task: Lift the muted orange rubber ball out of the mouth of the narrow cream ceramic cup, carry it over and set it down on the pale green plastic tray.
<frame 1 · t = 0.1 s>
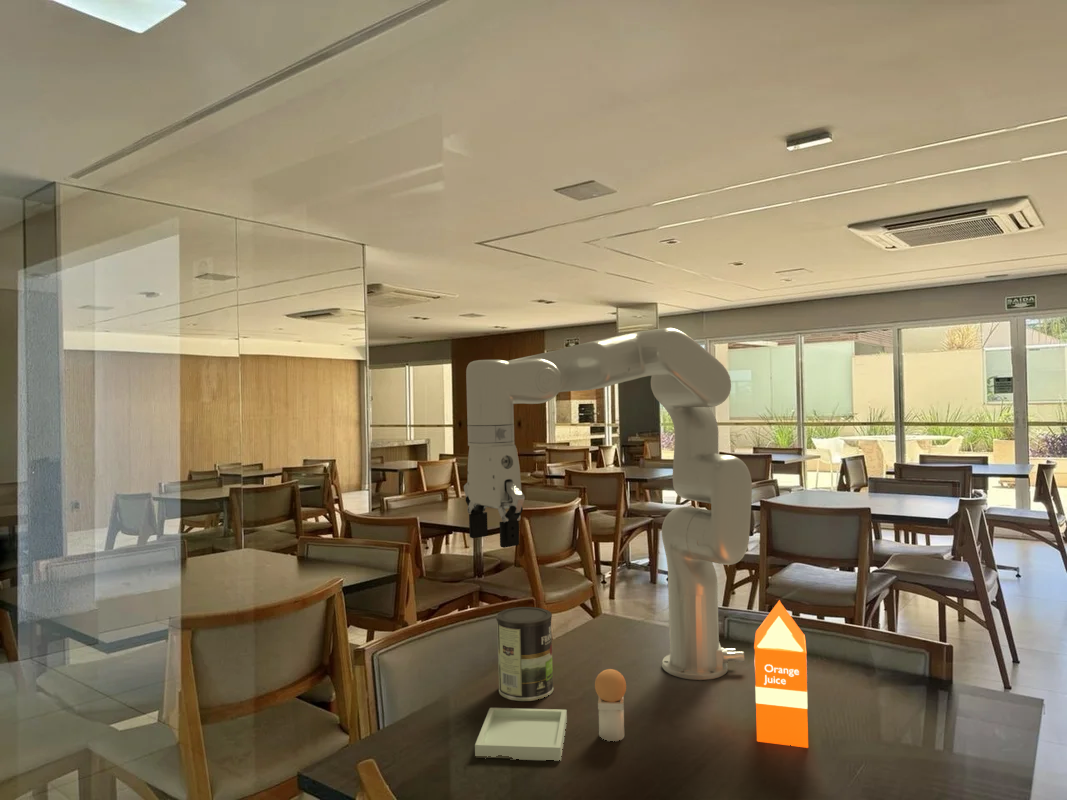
hand: (493, 541, 118), 31 cm above the table, tool pointing down, fingers open, 9 cm apart
ball: (610, 685, 116), point 8 cm above the table, touching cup
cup: (611, 735, 116), on the table
tray: (523, 738, 115), on the table
orange juice: (782, 733, 116), on the table
coffee can: (525, 691, 135), on the table
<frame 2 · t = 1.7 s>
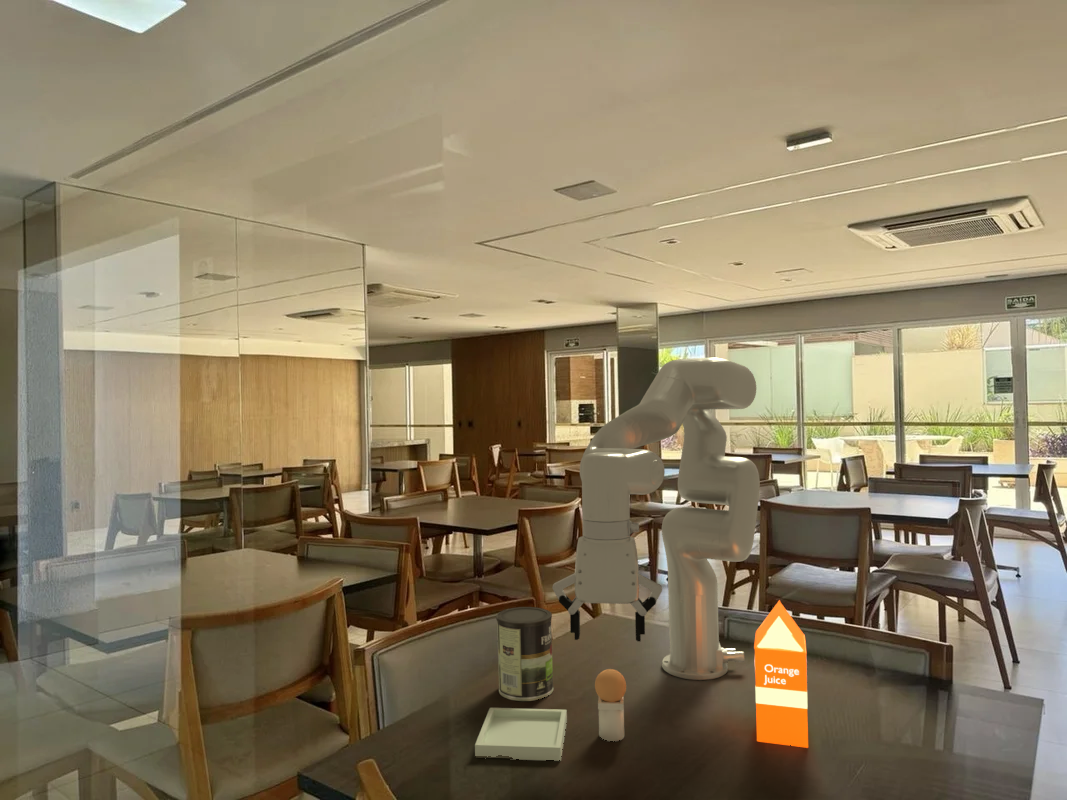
hand: (607, 638, 115), 16 cm above the table, tool pointing down, fingers open, 9 cm apart
nothing on the table moved.
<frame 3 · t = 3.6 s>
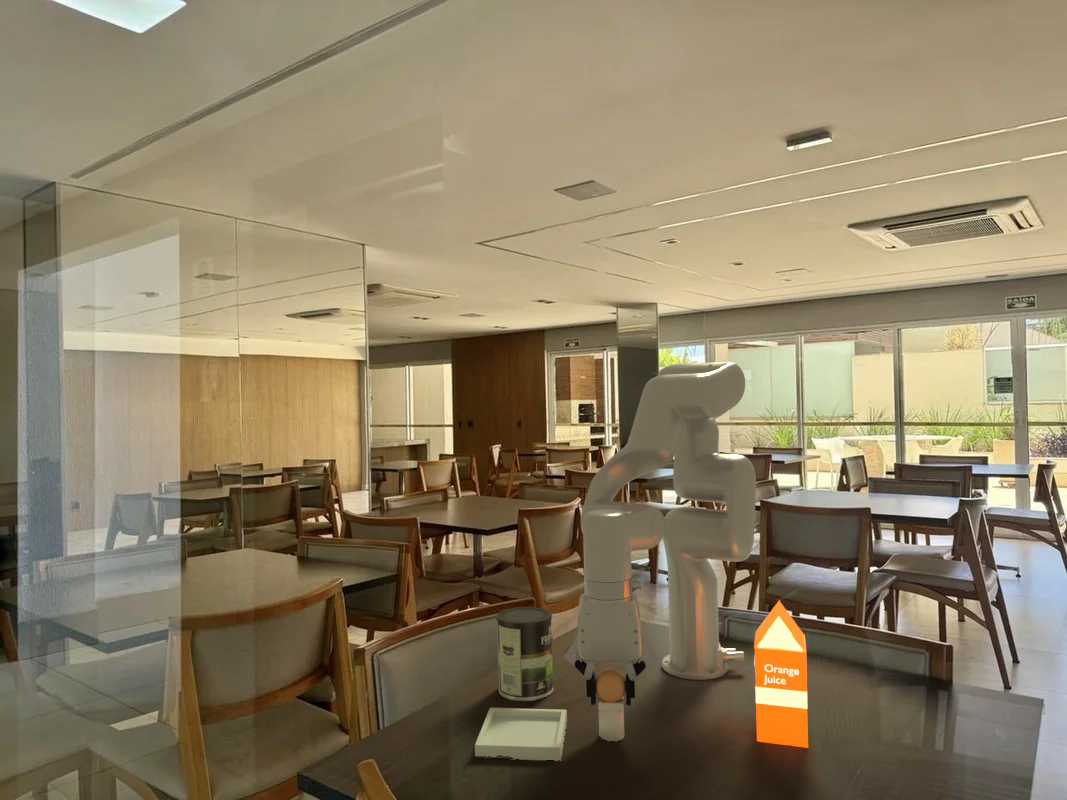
hand: (610, 700, 116), 6 cm above the table, tool pointing down, fingers closed on ball, 4 cm apart
ball: (610, 685, 116), point 8 cm above the table, touching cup, gripper
everything else where it was.
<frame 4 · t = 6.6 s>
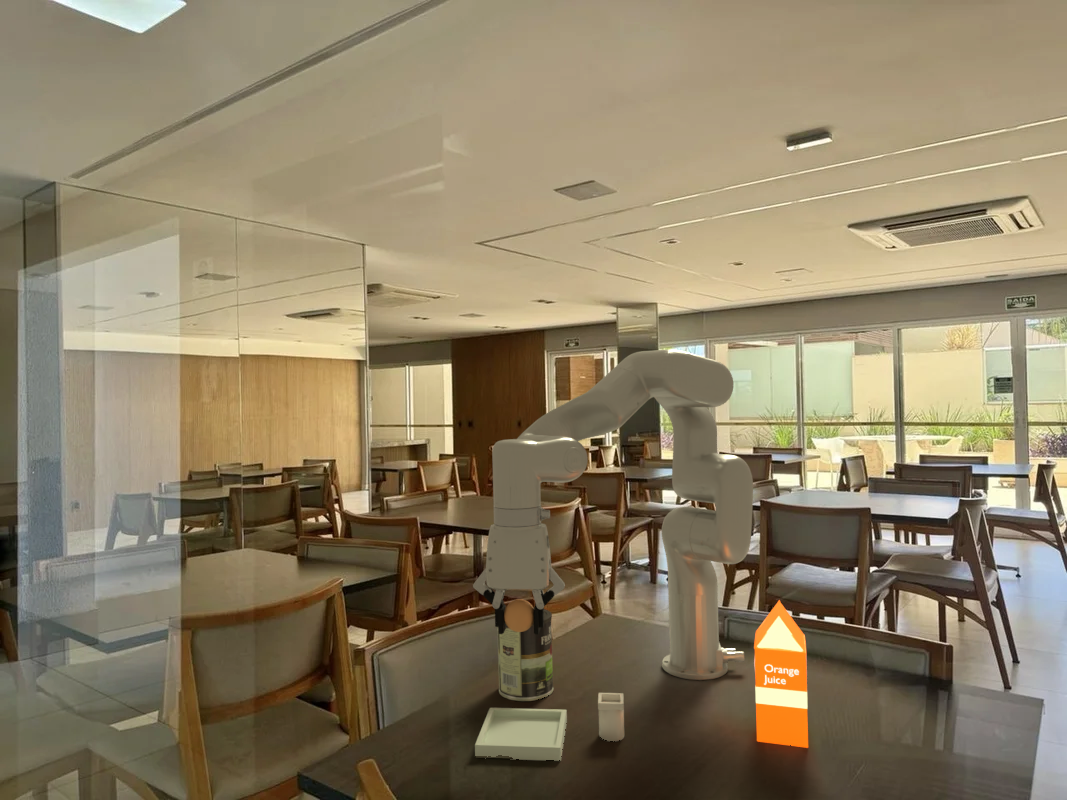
hand: (519, 630, 115), 17 cm above the table, tool pointing down, fingers closed on ball, 4 cm apart
ball: (519, 615, 115), point 20 cm above the table, touching gripper
everything else where it was.
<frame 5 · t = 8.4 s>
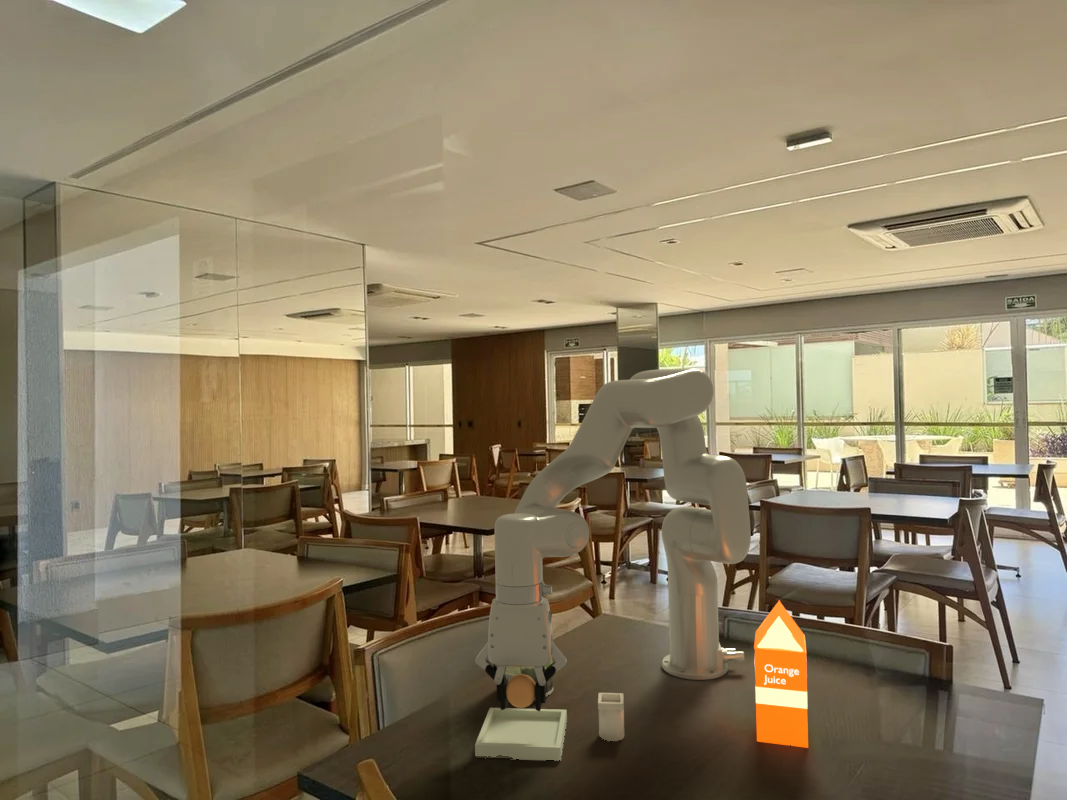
hand: (521, 705, 115), 5 cm above the table, tool pointing down, fingers closed on ball, 4 cm apart
ball: (521, 690, 115), point 8 cm above the table, touching gripper
everything else where it was.
when the fingers open (3 cm above the table, at t = 9.8 s): ball drops 2 cm, resting on tray.
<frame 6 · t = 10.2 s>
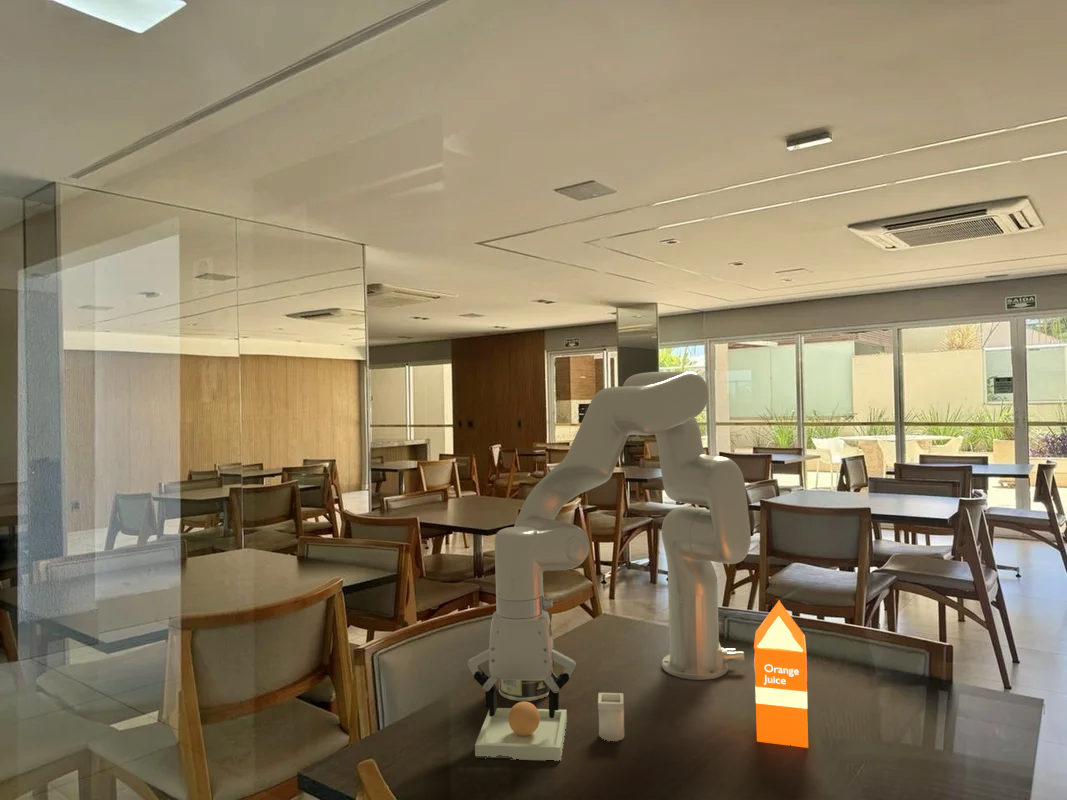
hand: (522, 713, 115), 4 cm above the table, tool pointing down, fingers open, 9 cm apart
ball: (524, 718, 115), point 3 cm above the table, tilted 5°, touching tray
everything else where it was.
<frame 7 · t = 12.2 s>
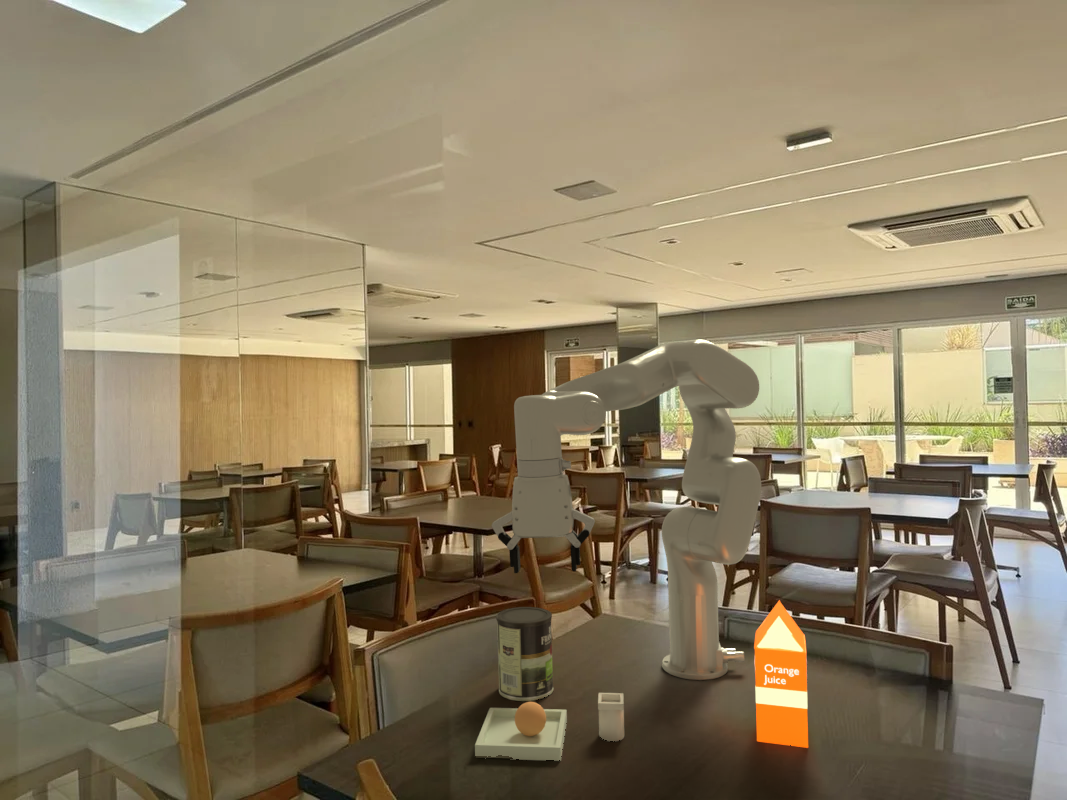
hand: (545, 570, 122), 25 cm above the table, tool pointing down, fingers open, 9 cm apart
ball: (530, 718, 115), point 3 cm above the table, tilted 29°, touching tray
everything else where it was.
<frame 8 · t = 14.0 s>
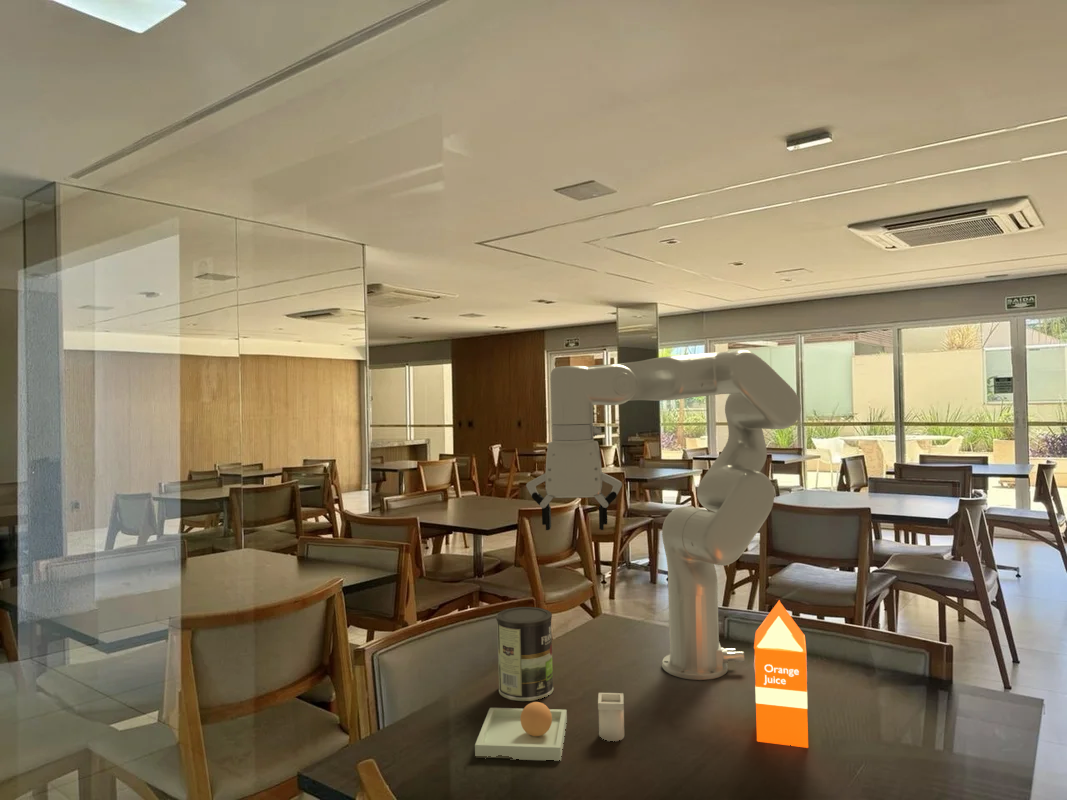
hand: (575, 528, 131), 30 cm above the table, tool pointing down, fingers open, 9 cm apart
ball: (536, 718, 115), point 3 cm above the table, tilted 50°, touching tray
everything else where it was.
at the end: ball inside the target area on the tray (2.3 cm from its centre), point 3.3 cm above the tray's base; the gripper is holding nothing; ball moved 12.9 cm from its start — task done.
